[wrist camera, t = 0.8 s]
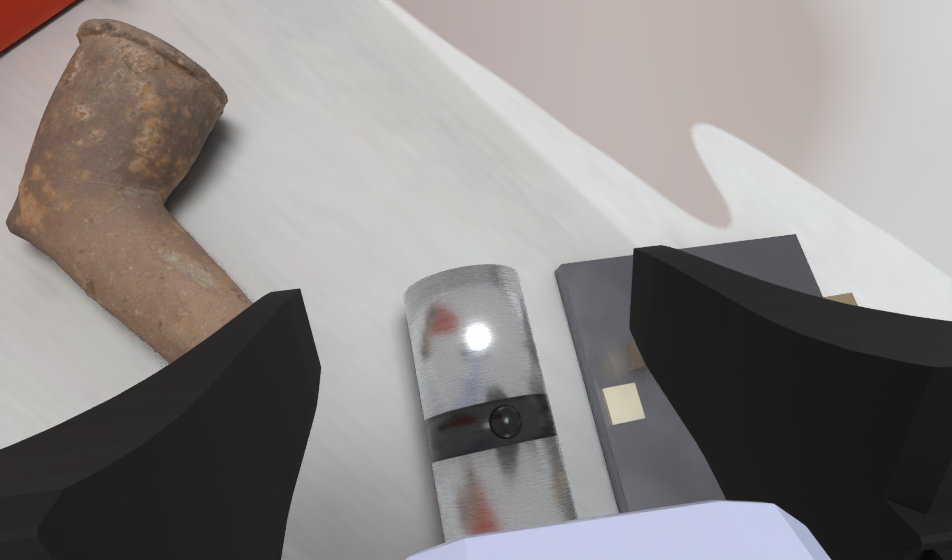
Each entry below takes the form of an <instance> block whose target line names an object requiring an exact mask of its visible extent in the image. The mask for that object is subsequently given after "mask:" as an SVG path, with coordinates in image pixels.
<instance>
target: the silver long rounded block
mask: <svg viewBox="0 0 952 560" xmlns="http://www.w3.org/2000/svg"><path fill="white" fill-rule="evenodd" d="M403 298H404V304H405V310H406V316H407V322H408V328H409V333H410V339H411V345H412V351H413V357H414V363H415V368H416V374H417V380H418V386H419V392H420V398H421V404H422V409H423V415H424V421H425V427H426V433H427V439H428V444H429V450H430V456H431V462H432V468H433V474H434V480H435V485H436V491H437V497H438V503H439V509H440V515H441V521H442V526H443V532H444V538H445V543H446V542H449V541H452V540H455V539H458V538H461V537H464V536H469V535H475V534H482V533H489V532H496V531H503V530H510V529H516V528H523V527H530V526H537V525H544V524H551V523H557V522H564V521H571V520H578V517H577V513H576V509H575V505H574V500H573V496H572V492H571V488H570V484H569V480H568V476H567V472H566V468H565V464H564V460H563V456H562V452H561V448H560V444H559V439H558V435H557V431H556V427H555V423H554V419H553V415H552V411H551V407H550V403H549V399H548V395H547V391H546V387H545V383H544V378H543V374H542V370H541V366H540V362H539V358H538V354H537V350H536V346H535V342H534V338H533V334H532V330H531V326H530V322H529V318H528V313H527V309H526V305H525V301H524V297H523V293H522V289H521V285H520V281H519V277H518V273H517V271H516V270H515V269H513V268H511V267H508V266H503V265H494V264H485V265H472V266H465V267H460V268H455V269H451V270H447V271H443V272H440V273H437V274H434V275H431V276H429V277H426V278H424V279H422V280H420V281H418V282H416V283H414V284H413V285H412V286H410V287H409V288H408V289H407V290H406V291H405V293H404V295H403Z"/></svg>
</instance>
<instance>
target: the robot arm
mask: <svg viewBox="0 0 952 560" xmlns="http://www.w3.org/2000/svg"><path fill="white" fill-rule="evenodd" d="M629 329H630V331H631V334H632V336H633V338H634V341H635V343H636V345H637V348H638V350H639V352H640V354H641V356H642V358H643V361H644V363H645V364H646V366H647V368H648V369H649V371H650V373H651V374H652V376H653V377H654V379H655V380H656V382H657V383H658V385H659V387H660V388H661V390H662V391H663V393H664V394H665V396H666V397H667V399H668V400H669V402H670V403H671V405H672V407H673V408H674V410H675V411H676V413H677V414H678V416H679V417H680V419H681V420H682V422H683V423H684V425H685V426H686V428H687V429H688V431H689V432H690V434H691V436H692V437H693V439H694V440H695V442H696V443H697V445H698V447H699V448H700V450H701V452H702V454H703V455H704V457H705V459H706V461H707V462H708V464H709V466H710V468H711V470H712V472H713V474H714V476H715V478H716V480H717V482H718V484H719V486H720V488H721V490H722V492H723V494H724V496H725V498H726V500H708V501H701V502H694V503H687V504H680V505H674V506H667V507H660V508H653V509H646V510H639V511H633V512H626V513H619V514H612V515H605V516H598V517H592V518H585V519H578V520H571V521H564V522H557V523H551V524H544V525H537V526H530V527H523V528H516V529H510V530H503V531H496V532H489V533H482V534H475V535H469V536H464V537H461V538H458V539H455V540H452V541H449V542H446V543H443V544H440V545H437V546H434V547H431V548H428V549H425V550H422V551H419V552H416V553H413V554H412V555H411V556H409V557H408V558H406V559H405V560H952V321H944V320H937V319H930V318H923V317H916V316H909V315H904V314H898V313H892V312H887V311H881V310H875V309H870V308H865V307H860V306H855V305H850V304H846V303H842V302H838V301H834V300H829V299H825V298H821V297H817V296H813V295H809V294H806V293H802V292H799V291H795V290H792V289H789V288H785V287H782V286H779V285H776V284H773V283H770V282H767V281H763V280H760V279H758V278H755V277H752V276H749V275H746V274H743V273H741V272H738V271H735V270H732V269H730V268H727V267H724V266H722V265H719V264H716V263H714V262H711V261H708V260H706V259H703V258H700V257H698V256H695V255H692V254H690V253H687V252H684V251H681V250H678V249H675V248H671V247H667V246H663V245H659V246H650V247H642V248H634V251H633V269H632V286H631V303H630V321H629ZM320 374H321V365H320V361H319V358H318V354H317V350H316V346H315V343H314V339H313V335H312V331H311V328H310V324H309V320H308V316H307V313H306V309H305V305H304V301H303V297H302V294H301V290H300V289H292V290H284V291H275V292H270V293H268V294H267V295H265V296H263V297H262V298H260V299H259V300H257V301H256V302H255V303H253V304H252V305H250V306H249V307H248V308H246V309H245V310H244V311H242V312H241V313H240V314H238V315H237V316H236V317H235V318H233V319H232V320H231V321H229V322H228V323H227V324H225V325H224V326H223V327H221V328H220V329H219V330H217V331H216V332H215V333H213V334H212V335H211V336H209V337H208V338H207V339H205V340H204V341H202V342H201V343H199V344H198V345H196V346H195V347H194V348H192V349H191V350H189V351H188V352H186V353H185V354H184V355H182V356H181V357H179V358H178V359H176V360H175V361H173V362H172V363H171V364H169V365H168V366H166V367H164V368H163V369H161V370H160V371H158V372H156V373H155V374H153V375H152V376H150V377H148V378H147V379H145V380H143V381H142V382H140V383H138V384H136V385H135V386H133V387H131V388H129V389H128V390H126V391H124V392H122V393H121V394H119V395H117V396H115V397H113V398H111V399H109V400H108V401H106V402H104V403H101V404H99V405H97V406H95V407H93V408H91V409H89V410H87V411H85V412H83V413H81V414H79V415H77V416H75V417H73V418H71V419H69V420H67V421H65V422H63V423H61V424H59V425H57V426H55V427H52V428H50V429H48V430H46V431H43V432H41V433H39V434H36V435H34V436H32V437H29V438H27V439H25V440H22V441H20V442H18V443H15V444H13V445H10V446H8V447H5V448H3V449H0V560H281V555H282V549H283V542H284V536H285V530H286V523H287V518H288V513H289V509H290V504H291V500H292V496H293V492H294V489H295V485H296V481H297V478H298V474H299V470H300V467H301V463H302V460H303V456H304V452H305V449H306V445H307V442H308V438H309V434H310V430H311V427H312V423H313V419H314V415H315V411H316V407H317V400H318V392H319V384H320Z"/></svg>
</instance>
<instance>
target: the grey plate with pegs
mask: <svg viewBox="0 0 952 560" xmlns="http://www.w3.org/2000/svg"><path fill="white" fill-rule="evenodd" d="M678 250H681V251H684V252H687V253H690V254H692V255H695V256H698V257H700V258H703V259H706V260H708V261H711V262H714V263H716V264H719V265H722V266H724V267H727V268H730V269H732V270H735V271H738V272H741V273H743V274H746V275H749V276H752V277H755V278H758V279H760V280H763V281H767V282H770V283H773V284H776V285H779V286H782V287H785V288H789V289H792V290H795V291H799V292H802V293H806V294H809V295H813V296H817V297H821V298H825V299H829V300H834V301H838V302H842V303H846V304H850V305H855V306H858V305H857V303H856V301H855V299H854V296H853V294H852V293H847V294H841V295H835V296H829V297H823V296H822V294H821V292H820V289H819V287H818V285H817V282H816V280H815V278H814V275H813V273H812V271H811V269H810V266H809V264H808V262H807V259H806V257H805V255H804V252H803V250H802V248H801V245H800V243H799V241H798V238H797V236H796V234H793V235H785V236H778V237H770V238H762V239H754V240H746V241H739V242H731V243H723V244H715V245H708V246H700V247H692V248H684V249H678ZM632 269H633V255H630V256H622V257H614V258H606V259H599V260H591V261H583V262H575V263H568V264H561V265H560V266H559V268H558V269H557V270H556V271H555V275H556V278H557V282H558V286H559V289H560V293H561V297H562V301H563V304H564V308H565V312H566V315H567V319H568V323H569V326H570V330H571V334H572V338H573V341H574V345H575V349H576V352H577V356H578V360H579V364H580V367H581V371H582V375H583V378H584V382H585V386H586V390H587V393H588V397H589V401H590V404H591V408H592V412H593V415H594V419H595V423H596V427H597V430H598V434H599V438H600V441H601V445H602V449H603V453H604V456H605V460H606V464H607V467H608V471H609V475H610V478H611V482H612V486H613V490H614V493H615V497H616V501H617V504H618V508H619V512H620V513H626V512H633V511H639V510H646V509H653V508H660V507H667V506H674V505H680V504H687V503H694V502H701V501H708V500H726V498H725V496H724V494H723V492H722V490H721V488H720V486H719V484H718V482H717V480H716V478H715V476H714V474H713V472H712V470H711V468H710V466H709V464H708V462H707V461H706V459H705V457H704V455H703V454H702V452H701V450H700V448H699V447H698V445H697V443H696V442H695V440H694V439H693V437H692V436H691V434H690V432H689V431H688V429H687V428H686V426H685V425H684V423H683V422H682V420H681V419H680V417H679V416H678V414H677V413H676V411H675V410H674V408H673V407H672V405H671V403H670V402H669V400H668V399H667V397H666V396H665V394H664V393H663V391H662V390H661V388H660V387H659V385H658V383H657V382H656V380H655V379H654V377H653V376H652V374H651V373H650V371H649V369H648V368H647V366H646V364H645V363H644V361H643V358H642V356H641V354H640V352H639V350H638V348H637V345H636V343H635V341H634V338H633V336H632V334H631V331H630V329H629V321H630V303H631V286H632Z"/></svg>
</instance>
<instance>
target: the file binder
mask: <svg viewBox="0 0 952 560" xmlns="http://www.w3.org/2000/svg"><path fill="white" fill-rule="evenodd" d="M74 1H76V0H0V52H1V51H2V50H4V49H5V48H7V47H8V46H10V45H11V44H13V43H14V42H16V41H17V40H19V39H20V38H21V37H23V36H24V35H26V34H27V33H29V32H30V31H32V30H33V29H35V28H36V27H38V26H39V25H41V24H42V23H43V22H45V21H46V20H48V19H49V18H51V17H52V16H54V15H55V14H57V13H58V12H60V11H61V10H63V9H64V8H65V7H67V6H68V5H70V4H71V3H73V2H74Z"/></svg>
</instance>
